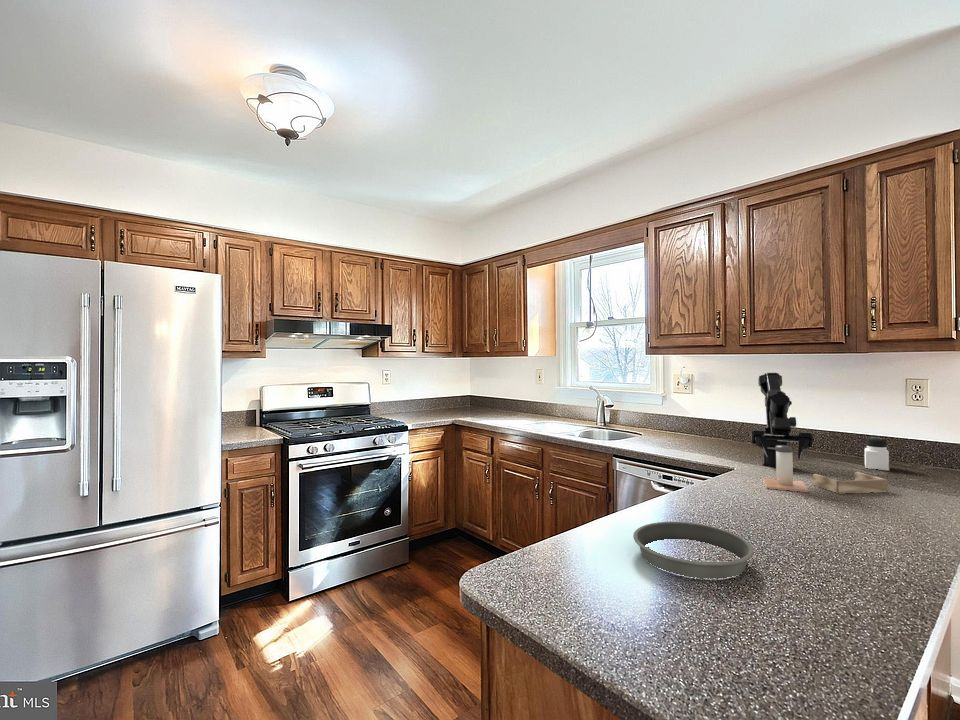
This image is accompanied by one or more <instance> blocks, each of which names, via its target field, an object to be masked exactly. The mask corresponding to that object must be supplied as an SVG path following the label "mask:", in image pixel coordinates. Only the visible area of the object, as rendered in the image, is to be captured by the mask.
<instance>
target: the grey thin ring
mask: <svg viewBox="0 0 960 720" xmlns="http://www.w3.org/2000/svg"><path fill="white" fill-rule="evenodd" d="M632 535H633V536H632V537H633V540H634V542H635V543H636V544H637V546H638V547H639V549H640V553H641V556H643V557H644V558H645V559H646V560H647V561H648V562H649V563H651V564H652V565H654V566H656V567H658V568H661V569H663V570H666V571H669V572H673V573H676V574H680V575H684V576H689V577H697V578H710V579H711V578H727V577H732V576H736V575H738V574H741V573H742V572H743V571H744V570H746V565H747V562H748V560H750V559H751V558H752V556H753V555H754V548H753V546H752V545H751V543H749V541H748V540H746V539H744V538H743V537H741V536H740V535H738V534H735V533H733V532H730V531H728V530H726V529H723V528H719V527H716V526H712V525H708V524H701V523H695V522H690V521H689V522H687V521H660V522H652V523H648V524H644V525H642V526H640V527H638V528H637V529H635V531H634V532H633V534H632ZM664 539H689V540H696V541H700V542H705V543H709V544H712V545H715V546H718V547H721V548H724V549H726V550H729V551H730V552H732V553H734V554H736V555H737V556H738V557H740V559H738V560H734V561H728V562H696V561H689V560H683V559H678V558H674V557H670V556H666V555H663V554H660V553H657V552H655V551H653V550H651V549H649V548H647V547H645V545H646V544H648V543H651V542H653V541H657V540H664ZM643 557H642V558H643ZM644 558H643V559H644ZM649 563H648V564H649ZM652 565H651V566H652ZM744 572H745V571H744ZM741 575H742V574H741Z"/></svg>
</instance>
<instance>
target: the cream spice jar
mask: <svg viewBox="0 0 960 720" xmlns="http://www.w3.org/2000/svg"><path fill="white" fill-rule="evenodd" d="M793 450H794V447H793V446H791V445H788V446H787V445H776V467H775V470H776V471H775V472H776V474H775V475H776V478H775V479H777V484H780V485H785V486H791V485H793V481H794V472H793V471H794V470H793V469H794V466H793V465H794V464H793V461H794V460H793V459H794V458H793V452H794V451H793Z"/></svg>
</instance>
